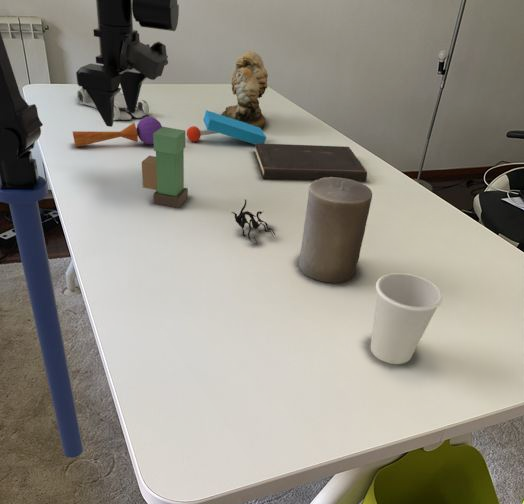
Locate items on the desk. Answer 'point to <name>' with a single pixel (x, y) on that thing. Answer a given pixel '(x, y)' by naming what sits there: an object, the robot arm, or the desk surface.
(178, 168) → the green block pillar
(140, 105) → the car model
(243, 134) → the lever
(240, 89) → the brown mottled upright lump
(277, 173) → the hardcover book
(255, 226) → the creature
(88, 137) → the kendama
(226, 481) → the desk surface
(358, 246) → the pillar candle
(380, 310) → the dixie cup
